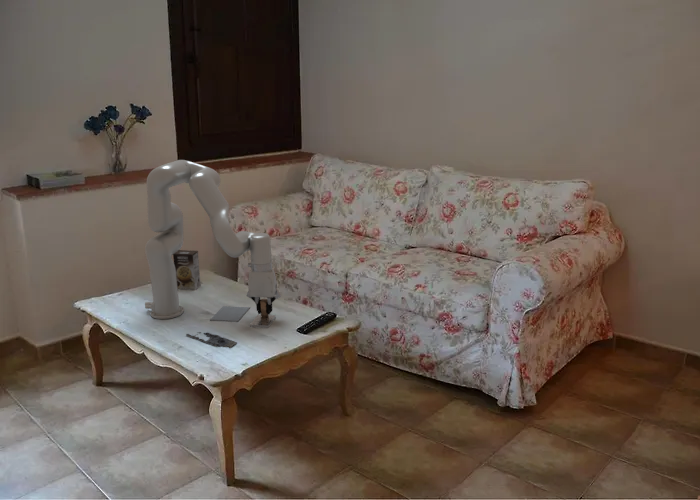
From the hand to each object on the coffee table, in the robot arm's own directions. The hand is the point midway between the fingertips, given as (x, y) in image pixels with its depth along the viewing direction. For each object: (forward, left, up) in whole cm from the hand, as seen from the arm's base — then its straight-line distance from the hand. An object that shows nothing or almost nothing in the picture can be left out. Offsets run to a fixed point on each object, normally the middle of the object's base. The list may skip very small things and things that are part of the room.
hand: (264, 312), depth 244 cm
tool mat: (-15, +4, -3) cm, 16 cm away
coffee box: (-44, +32, -3) cm, 54 cm away
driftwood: (-13, -20, -4) cm, 24 cm away
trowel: (0, -3, -3) cm, 4 cm away
